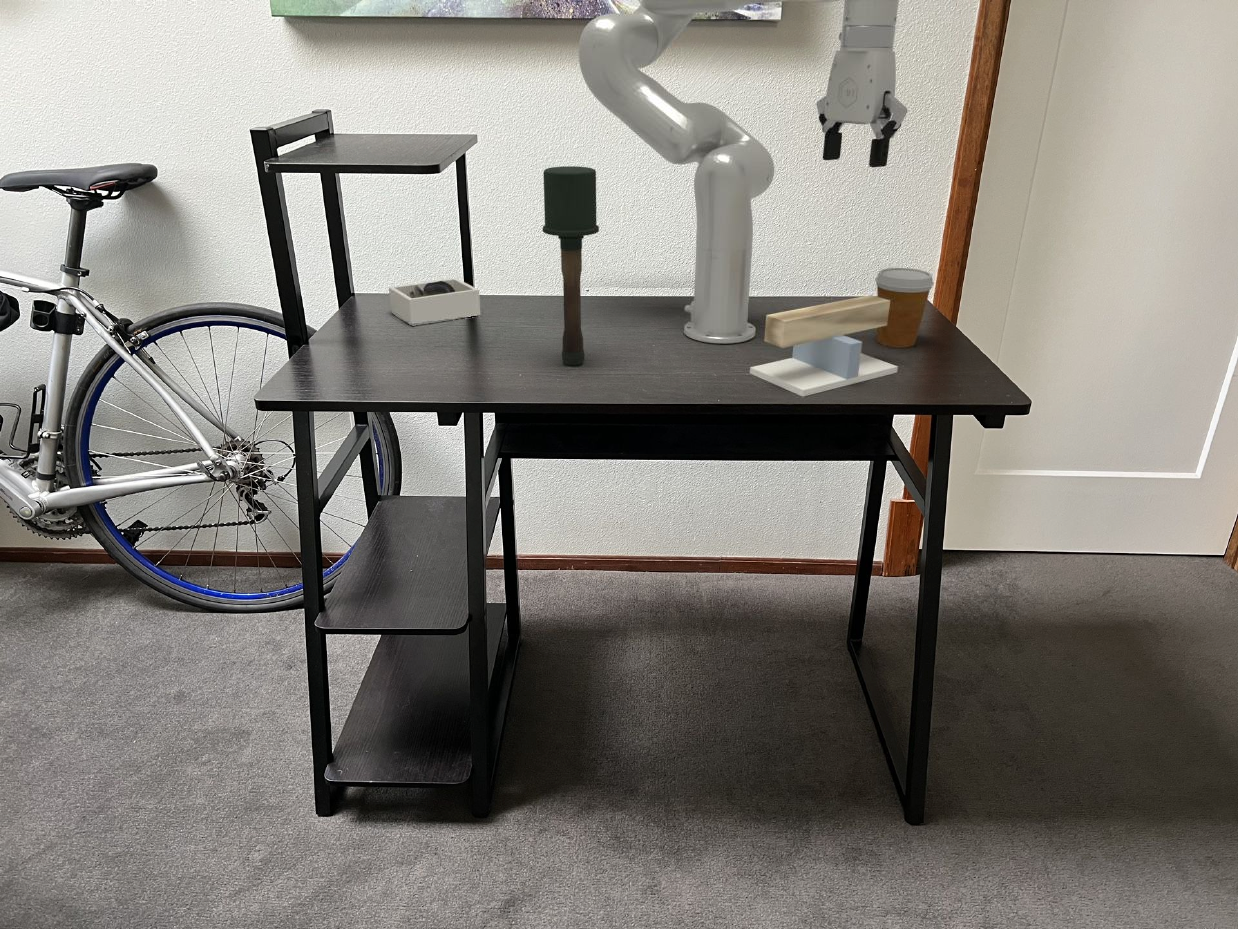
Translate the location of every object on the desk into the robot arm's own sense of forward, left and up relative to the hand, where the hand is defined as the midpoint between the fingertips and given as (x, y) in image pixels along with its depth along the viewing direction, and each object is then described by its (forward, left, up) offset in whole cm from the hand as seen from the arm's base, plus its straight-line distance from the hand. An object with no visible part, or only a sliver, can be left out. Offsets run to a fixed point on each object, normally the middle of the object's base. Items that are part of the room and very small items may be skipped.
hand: (853, 163), depth 140 cm
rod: (+7, -9, -24) cm, 26 cm away
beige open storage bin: (-56, -48, -30) cm, 80 cm away
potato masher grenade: (-18, -40, -31) cm, 53 cm away
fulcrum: (+7, -9, -30) cm, 32 cm away
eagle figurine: (-56, -48, -30) cm, 80 cm away
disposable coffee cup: (+2, +13, -31) cm, 33 cm away
